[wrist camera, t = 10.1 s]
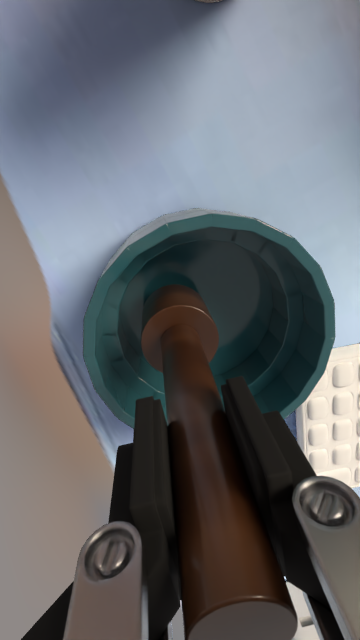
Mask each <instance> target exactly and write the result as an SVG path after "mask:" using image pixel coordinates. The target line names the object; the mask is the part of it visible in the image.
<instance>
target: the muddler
mask: <svg viewBox="0 0 360 640" xmlns="http://www.w3.org/2000/svg"><path fill="white" fill-rule="evenodd" d="M218 343H219V334H218V330H217V327H216V324H215V322H214V320H213V319H212V317H211V315H210V313H209V311H208V309H207V307H206V305H205V303H204V301H203V299H202V297H201V296H200V295H199V294H198V293H197V292H196V291H195V290H193V289H191V288H190V287H187V286H184V285H179V284H172V285H166V286H163V287H161V288H159V289H157V290H156V291H154V292H153V293H152V294H151V295H150V296H149V297H148V299H147V300H146V302H145V304H144V307H143V311H142V328H141V348H142V352H143V355H144V356H145V358H146V360H147V361H148V363H149V364H150V365H151V366H152V367H154V368H155V369H156V370H158V371H160V372H162V373H163V378H164V390H165V403H166V415H167V426H168V437H169V449H170V461H171V473H172V485H173V497H174V510H175V522H176V534H177V550H178V563H179V575H180V587H181V600H182V612H183V624H184V637H185V640H292V639H293V637H294V636H295V634H296V631H297V627H298V617H297V613H296V611H295V608H294V605H293V602H292V599H291V596H290V594H289V591H288V588H287V585H286V582H285V579H284V576H283V574H282V571H281V568H280V565H279V562H278V559H277V557H276V554H275V551H274V548H273V545H272V542H271V539H270V537H269V534H268V531H267V528H266V525H265V523H264V521H263V519H262V517H261V514H260V511H259V508H258V505H257V502H256V499H255V496H254V494H253V491H252V488H251V485H250V482H249V479H248V476H247V473H246V471H245V468H244V465H243V462H242V459H241V456H240V453H239V450H238V448H237V445H236V442H235V439H234V436H233V433H232V430H231V427H230V425H229V422H228V419H227V416H226V413H225V409H224V406H223V403H222V400H221V397H220V394H219V392H218V389H217V386H216V383H215V380H214V377H213V374H212V372H211V369H210V366H209V362H210V361H211V360H212V358H213V357H214V355H215V353H216V351H217V348H218Z"/></svg>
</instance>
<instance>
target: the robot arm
mask: <svg viewBox="0 0 360 640" xmlns="http://www.w3.org/2000/svg"><path fill="white" fill-rule="evenodd" d="M221 392H222V397H223V402H224V408H225V413H226V416H227V419H228V422H229V425H230V427H231V430H232V433H233V436H234V439H235V442H236V445H237V448H238V450H239V453H240V456H241V459H242V462H243V465H244V468H245V471H246V473H247V476H248V479H249V482H250V485H251V488H252V491H253V494H254V496H255V499H256V502H257V505H258V508H259V511H260V514H261V517H262V519H263V521H264V523H265V525H266V528H267V531H268V534H269V537H270V539H271V542H272V545H273V548H274V551H275V554H276V557H277V559H278V562H279V565H280V568H281V571H282V574H283V576H286V579H287V581H288V582H289V583H291V584H292V585H294V586H295V587H297V588H299V589H300V590H302V592H303V596H304V599H305V602H306V604H307V607H308V610H309V612H310V615H311V618H312V620H313V623H314V626H315V628H316V631H317V634H318V637H319V639H320V640H360V498H359V497H358V495H357V494H356V493H355V492H354V491H353V490H352V488H351V487H349V486H348V485H346V484H345V483H343V482H342V481H340V480H337V479H335V478H332V477H327V476H317V475H316V473H315V472H314V470H313V468H312V466H311V465H310V463H309V461H308V460H307V458H306V456H305V455H304V453H303V451H302V450H301V448H300V446H299V445H298V443H297V441H296V439H295V438H294V436H293V434H292V433H291V431H290V429H289V428H288V426H287V424H286V423H285V421H284V419H283V418H282V416H281V414H280V413H279V411H277V410H276V411H271V412H267V413H263V414H262V413H261V411H260V409H259V407H258V405H257V403H256V401H255V399H254V397H253V395H252V393H251V391H250V389H249V387H248V386H247V384H246V382H245V380H244V378H243V376H239V377H234V378H230V379H226V384H223V385H221ZM180 600H181V587H180V575H179V563H178V550H177V534H176V522H175V510H174V497H173V485H172V473H171V461H170V449H169V437H168V426H167V422H166V419H165V415H164V411H163V408H162V404H161V400H160V399H157V400H154V398H153V396H150V397H145V398H141V399H137V400H136V405H135V421H134V438H133V443H130V444H126V445H121V446H119V447H118V450H117V457H116V465H115V473H114V482H113V490H112V498H111V507H110V515H109V523H108V524H106V525H103V526H102V527H101V528H99V529H98V530H96V531H95V532H94V533H93V534H92V535H91V536H90V537H89V538H88V539H87V540H86V542H85V544H84V545H83V547H82V549H81V552H80V554H79V557H78V561H77V567H76V573H75V578H74V581H73V582H72V583H71V585H70V586H69V587H68V588H67V589H66V590H65V591H64V592H63V593H62V595H61V596H60V597H59V598H58V599H57V600H56V601H55V602H54V604H53V605H52V606H51V607H50V608H49V609H48V610H47V611H46V613H44V614H43V616H42V617H41V618H40V619H39V620H38V621H37V622H36V623H35V624H34V626H33V627H32V628H31V629H30V630H29V631H28V632H27V633H26V634H25V636H24V637H23V638H22V639H21V640H173V637H172V625H171V620H172V618H173V617H174V615H175V614H176V612H177V610H178V609H179V607H180Z"/></svg>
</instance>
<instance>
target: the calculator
mask: <svg viewBox="0 0 360 640" xmlns="http://www.w3.org/2000/svg"><path fill="white" fill-rule="evenodd" d="M324 372H325V373H324V374H323V376H322V377H321V379H320V380H319V382H318V383H317V385H316V386H315V388H314V389H313V391H312V392H311V394H310V395H309V397H308V398H307V400H306V401H305V402H304V403H303V404H301V405H300V406H299V407H298V408H297V409H296V429H297V443H298V445H299V446H300V448H301V450H302V451H303V453H304V455H305V456H306V458H307V460H308V461H309V463H310V465H311V466H312V468H313V470H314V472H315V473H316V475H317V476H327V477H332V478H335V479H337V480H340V481H342V482H343V483H345V484H346V485H348V486H349V487H351V488H354V487H359V486H360V343H358V344H353V345H348V346H343V347H338V348H333V349H332V350H331V354H330V357H329V360H328V363H327V367H326V370H325V371H324Z"/></svg>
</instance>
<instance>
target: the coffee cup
mask: <svg viewBox="0 0 360 640" xmlns="http://www.w3.org/2000/svg"><path fill="white" fill-rule="evenodd" d="M196 1H199V2H205V3H213V2H219V1H223V0H196Z"/></svg>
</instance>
